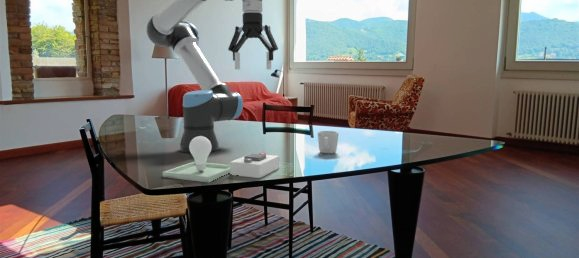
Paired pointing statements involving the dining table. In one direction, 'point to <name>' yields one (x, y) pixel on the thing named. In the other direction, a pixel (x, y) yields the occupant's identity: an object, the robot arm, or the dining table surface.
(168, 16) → the robot arm
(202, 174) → the tray
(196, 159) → the light bulb
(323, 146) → the cup
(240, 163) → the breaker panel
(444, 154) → the dining table surface
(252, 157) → the button
